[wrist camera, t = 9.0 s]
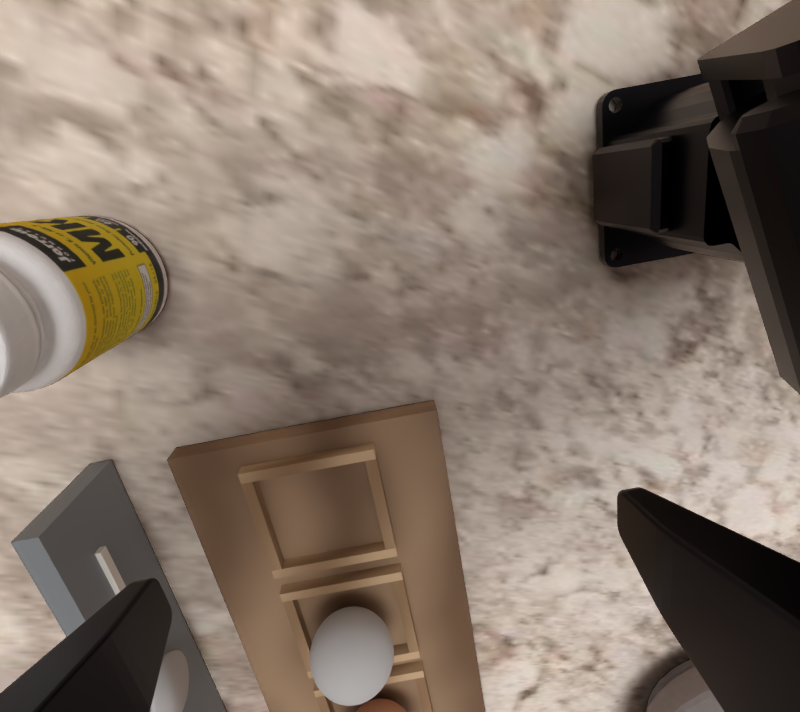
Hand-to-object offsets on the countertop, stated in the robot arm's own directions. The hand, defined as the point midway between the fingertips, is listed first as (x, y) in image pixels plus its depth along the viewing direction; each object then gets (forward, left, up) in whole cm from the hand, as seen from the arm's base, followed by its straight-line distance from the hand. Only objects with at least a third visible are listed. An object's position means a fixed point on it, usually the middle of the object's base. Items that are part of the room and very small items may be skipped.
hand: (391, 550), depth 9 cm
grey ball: (+4, +14, -11) cm, 18 cm away
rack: (+4, +14, -12) cm, 19 cm away
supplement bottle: (+10, -5, -12) cm, 17 cm away
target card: (+13, +14, -12) cm, 23 cm away
